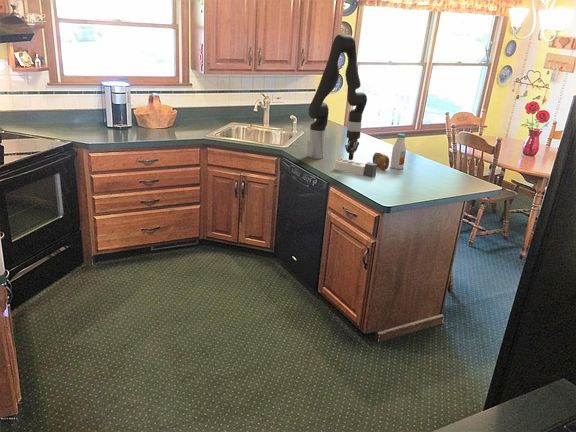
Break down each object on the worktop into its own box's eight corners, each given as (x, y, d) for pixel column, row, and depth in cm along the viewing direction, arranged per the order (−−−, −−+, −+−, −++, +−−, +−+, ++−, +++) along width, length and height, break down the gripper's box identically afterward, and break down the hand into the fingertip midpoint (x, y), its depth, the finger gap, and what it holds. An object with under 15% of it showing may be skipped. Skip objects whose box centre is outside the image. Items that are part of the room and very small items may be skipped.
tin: (371, 164, 299) (373, 150, 296) (376, 164, 300) (377, 150, 297) (384, 171, 286) (386, 157, 283) (389, 171, 287) (391, 157, 284)
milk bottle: (393, 169, 291) (398, 135, 284) (387, 165, 298) (392, 132, 291) (405, 169, 293) (410, 135, 286) (399, 165, 300) (404, 132, 293)
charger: (359, 174, 278) (361, 162, 275) (363, 172, 281) (364, 161, 279) (372, 177, 274) (373, 165, 271) (375, 175, 277) (377, 164, 275)
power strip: (334, 169, 285) (335, 159, 283) (340, 166, 290) (341, 157, 288) (362, 175, 276) (363, 166, 274) (368, 173, 281) (369, 163, 279)
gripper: (353, 126, 282) (350, 156, 288) (342, 129, 272) (339, 160, 278) (365, 128, 278) (361, 159, 284) (354, 132, 268) (350, 163, 274)
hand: (350, 159), depth 281 cm, fingers closed
